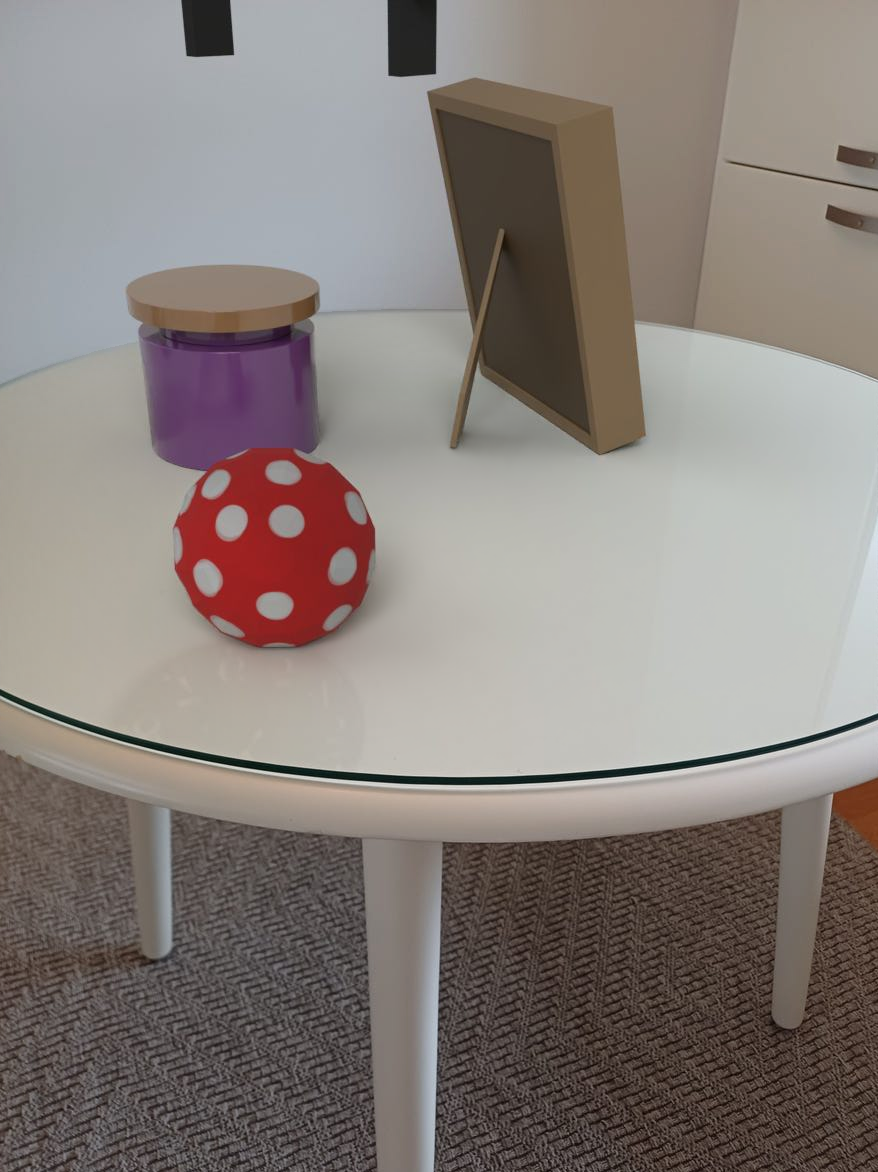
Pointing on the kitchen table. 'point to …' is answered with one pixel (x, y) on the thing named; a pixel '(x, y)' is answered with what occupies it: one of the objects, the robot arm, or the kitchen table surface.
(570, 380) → the photo frame
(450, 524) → the kitchen table surface
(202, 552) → the red polka-dot ball
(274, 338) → the jar
